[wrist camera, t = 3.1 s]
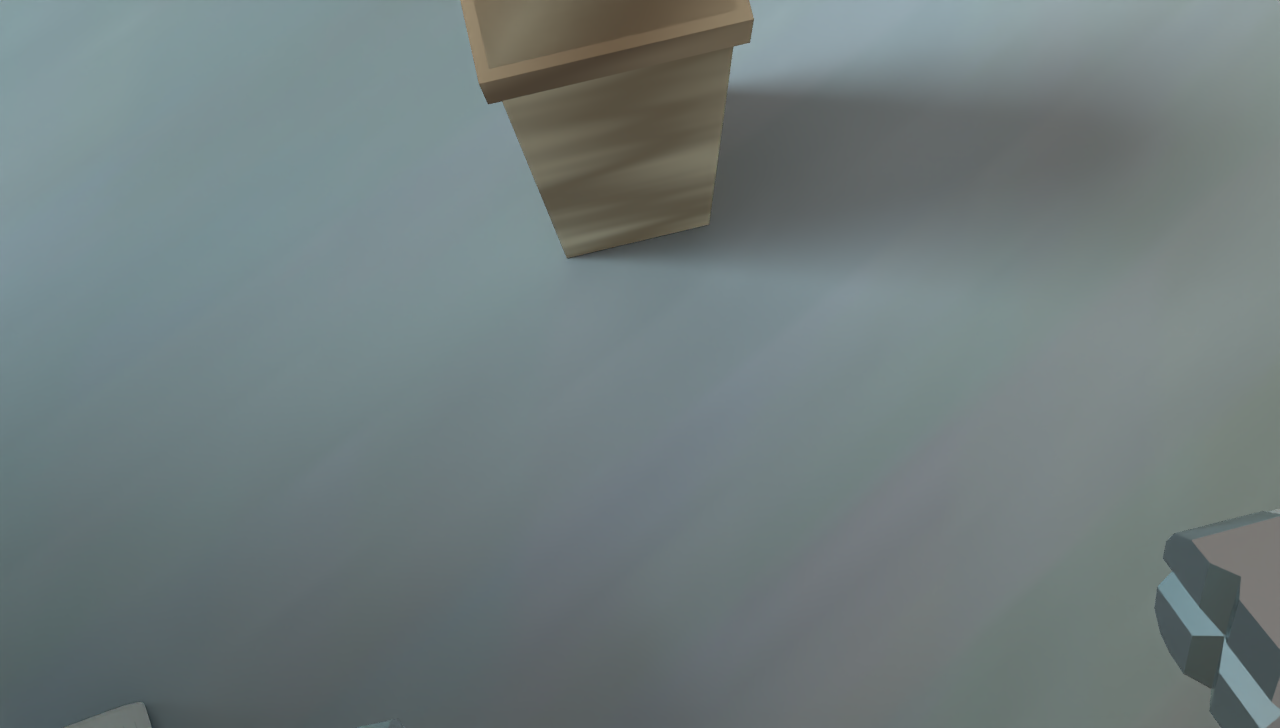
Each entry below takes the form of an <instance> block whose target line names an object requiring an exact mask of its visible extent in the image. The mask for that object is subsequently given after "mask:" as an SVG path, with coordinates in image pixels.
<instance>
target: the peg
mask: <svg viewBox="0 0 1280 728" xmlns="http://www.w3.org/2000/svg"><path fill="white" fill-rule="evenodd" d="M460 1H461V5H462V10H463V14H464V19H465V23H466V28H467V32H468V36H469V41H470V45H471V50H472V54H473V59H474V63H475V68H476V72H477V77H478V81H479V85H480V87H481V89H482V92H483V94H484V96H485V98H486V100H487V103H488V104H492V103H496V102H500V101H502V102H503V104H504V107H505V109H506V112H507V114H508V117H509V119H510V121H511V124H512V126H513V129H514V131H515V134H516V136H517V138H518V141H519V143H520V146H521V148H522V151H523V153H524V155H525V158H526V160H527V163H528V165H529V168H530V170H531V172H532V175H533V177H534V180H535V182H536V184H537V187H538V189H539V192H540V194H541V197H542V199H543V201H544V204H545V206H546V209H547V211H548V214H549V216H550V218H551V221H552V223H553V226H554V228H555V231H556V233H557V235H558V238H559V240H560V243H561V245H562V247H563V250H564V252H565V255H566V257H567V258H570V257H575V256H579V255H583V254H587V253H591V252H596V251H600V250H604V249H608V248H613V247H617V246H621V245H625V244H629V243H634V242H638V241H642V240H646V239H651V238H655V237H659V236H663V235H667V234H672V233H676V232H680V231H684V230H689V229H693V228H697V227H701V226H705V225H709V222H710V214H711V207H712V200H713V192H714V185H715V178H716V170H717V163H718V156H719V148H720V141H721V133H722V126H723V119H724V111H725V104H726V97H727V89H728V82H729V75H730V67H731V60H732V53H733V46H737V45H742V44H746V43H750V39H751V33H752V27H753V21H754V18H753V14H752V10H751V7H750V3H749V0H460Z"/></svg>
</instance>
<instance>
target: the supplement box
mask: <svg viewBox="0 0 1280 728" xmlns="http://www.w3.org/2000/svg"><path fill="white" fill-rule="evenodd" d="M63 728H152V726H151V723H150V720H149V717H148V713H147V710H146V707H145V705H144V703H142V702H135V703H131V704H128V705H124V706H121V707H118V708H115V709H112V710H110V711H107V712H104V713H101V714H98V715H96V716H93V717H90V718H88V719H85V720H82V721H79V722H77V723H74V724H71V725H69V726H66V727H63Z"/></svg>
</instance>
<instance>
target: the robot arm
mask: <svg viewBox="0 0 1280 728" xmlns="http://www.w3.org/2000/svg"><path fill="white" fill-rule="evenodd" d="M1163 559H1164V561H1165V562H1166V563H1167V565H1168V566H1169V567H1170V569H1171V570H1172V572H1171V573H1170V574H1169V575H1168V576H1167V577H1166V578H1165V579H1164V580H1163V581H1162V582H1161V583H1160V585H1159V586H1158V587H1157V593H1156V601H1155V613H1156V617H1157V621H1158V626H1159V630H1160V634H1161V636H1162V638H1163V640H1164V642H1165V644H1166V646H1167V648H1168V650H1169V653H1170V654H1171V656H1172V657H1173V659H1174V660H1175V662H1176V663H1177V665H1178V666H1179V668H1180V669H1181V671H1182V672H1183V674H1185V675H1187V676H1189V677H1190V678H1192V679H1194V680H1196V681H1198V682H1200V683H1201V684H1203V685H1205V686H1207V687H1209V688H1211V698H1210V710H1209V711H1210V713H1211V714H1212V715H1213V717H1214V718H1215V720H1216V721H1217V723H1218V724H1219V725H1220V727H1221V728H1280V509H1276V510H1272V511H1268V512H1266V511H1261V512H1257V513H1253V514H1249V515H1245V516H1241V517H1237V518H1233V519H1229V520H1225V521H1221V522H1217V523H1213V524H1209V525H1205V526H1201V527H1198V528H1194V529H1190V530H1186V531H1182V532H1178V533H1174V534H1173V535H1172V536H1171V537H1170V538H1169V539H1168V540H1167V541H1166V546H1165V550H1164V555H1163ZM356 728H404V727H403V725H402V723H401V722H400V720H399V719H393V720H388V721H384V722H379V723H374V724H370V725H365V726H360V727H356Z"/></svg>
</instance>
